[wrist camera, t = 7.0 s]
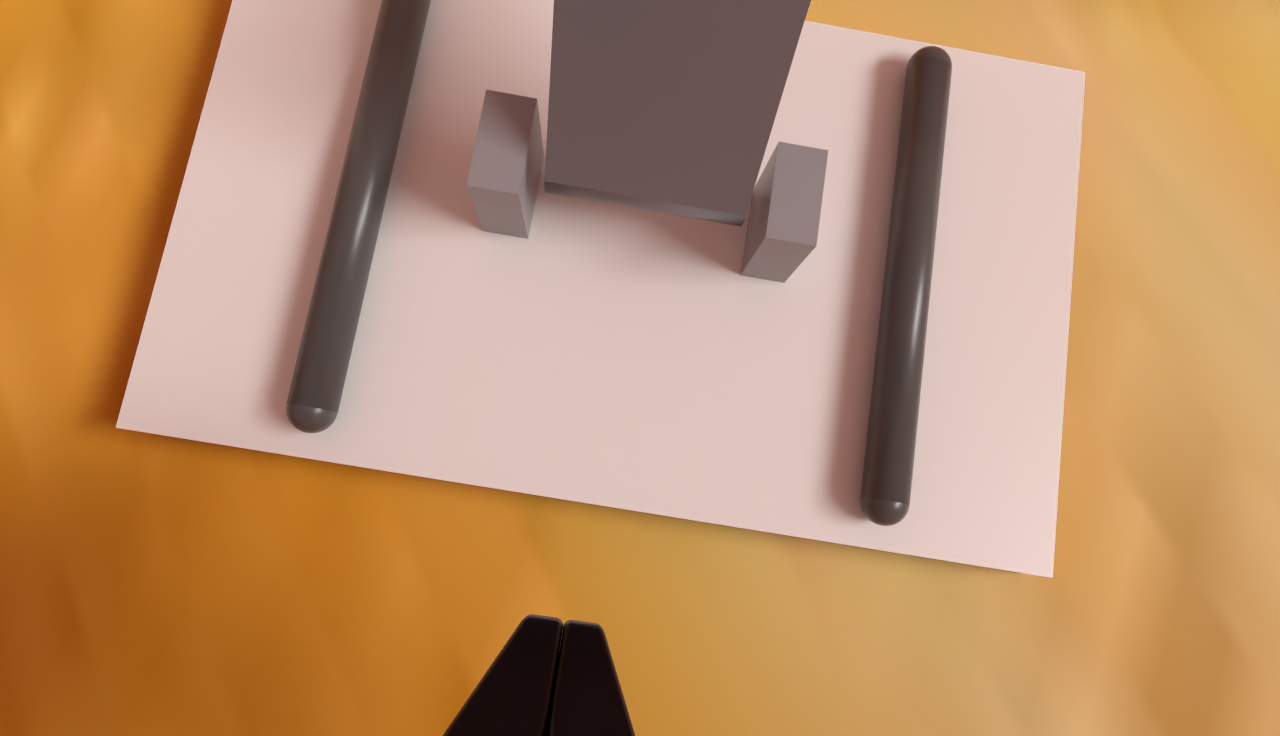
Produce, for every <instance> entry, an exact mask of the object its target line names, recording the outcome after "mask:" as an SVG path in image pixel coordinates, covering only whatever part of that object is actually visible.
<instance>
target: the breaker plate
mask: <svg viewBox="0 0 1280 736" xmlns="http://www.w3.org/2000/svg"><path fill="white" fill-rule="evenodd" d="M553 9H554V0H232V4H231V7H230V11H229V15H228V18H227V22H226V26H225V29H224V33H223V37H222V40H221V44H220V48H219V51H218V55H217V59H216V62H215V66H214V70H213V73H212V77H211V81H210V84H209V88H208V92H207V95H206V99H205V103H204V106H203V110H202V113H201V117H200V121H199V124H198V128H197V132H196V135H195V139H194V143H193V146H192V150H191V154H190V157H189V161H188V165H187V168H186V172H185V176H184V179H183V183H182V187H181V190H180V194H179V198H178V201H177V205H176V209H175V212H174V216H173V219H172V223H171V227H170V230H169V234H168V238H167V241H166V245H165V249H164V252H163V256H162V260H161V263H160V267H159V271H158V274H157V278H156V282H155V285H154V289H153V293H152V296H151V300H150V304H149V307H148V311H147V315H146V318H145V322H144V325H143V329H142V333H141V336H140V340H139V344H138V347H137V351H136V355H135V358H134V362H133V366H132V369H131V373H130V377H129V380H128V384H127V388H126V391H125V395H124V399H123V402H122V406H121V410H120V413H119V417H118V421H117V424H116V428H121V429H126V430H132V431H138V432H144V433H150V434H157V435H163V436H169V437H175V438H182V439H188V440H194V441H200V442H206V443H213V444H219V445H225V446H231V447H238V448H244V449H250V450H256V451H263V452H269V453H275V454H281V455H288V456H294V457H300V458H306V459H313V460H319V461H325V462H331V463H338V464H344V465H350V466H356V467H363V468H369V469H375V470H381V471H388V472H394V473H400V474H406V475H412V476H419V477H425V478H431V479H437V480H444V481H450V482H456V483H462V484H469V485H475V486H481V487H487V488H494V489H500V490H506V491H512V492H519V493H525V494H531V495H537V496H544V497H550V498H556V499H562V500H569V501H575V502H581V503H587V504H594V505H600V506H606V507H612V508H618V509H625V510H631V511H637V512H643V513H650V514H656V515H662V516H668V517H675V518H681V519H687V520H693V521H700V522H706V523H712V524H718V525H725V526H731V527H737V528H743V529H750V530H756V531H762V532H768V533H775V534H781V535H787V536H793V537H800V538H806V539H812V540H818V541H824V542H831V543H837V544H843V545H849V546H856V547H862V548H868V549H874V550H881V551H887V552H893V553H899V554H906V555H912V556H918V557H924V558H931V559H937V560H943V561H949V562H956V563H962V564H968V565H974V566H981V567H987V568H993V569H999V570H1006V571H1012V572H1018V573H1024V574H1031V575H1038V576H1044V577H1051V578H1053V565H1054V550H1055V535H1056V519H1057V504H1058V488H1059V473H1060V457H1061V442H1062V426H1063V411H1064V396H1065V380H1066V365H1067V349H1068V334H1069V318H1070V303H1071V287H1072V272H1073V257H1074V241H1075V226H1076V210H1077V195H1078V179H1079V164H1080V149H1081V133H1082V118H1083V102H1084V87H1085V72H1083V71H1077V70H1072V69H1066V68H1061V67H1055V66H1050V65H1044V64H1039V63H1034V62H1028V61H1023V60H1017V59H1012V58H1006V57H1001V56H995V55H990V54H985V53H979V52H974V51H968V50H963V49H957V48H952V47H946V46H941V45H936V44H930V43H925V42H919V41H914V40H908V39H903V38H897V37H892V36H887V35H881V34H876V33H870V32H865V31H859V30H854V29H849V28H843V27H838V26H832V25H827V24H821V23H816V22H810V21H804V24H803V28H802V31H801V34H800V38H799V41H798V44H797V48H796V51H795V54H794V57H793V61H792V64H791V67H790V71H789V74H788V77H787V81H786V84H785V87H784V90H783V94H782V97H781V100H780V104H779V107H778V110H777V114H776V117H775V120H774V124H773V127H772V130H771V133H770V137H769V140H768V143H767V147H766V150H765V153H764V157H763V160H762V163H761V167H760V170H759V173H758V176H757V180H756V183H755V186H754V190H753V193H752V196H751V200H750V203H749V206H748V209H747V213H746V216H745V219H744V222H743V224H742V226H741V227H740V226H734V225H728V224H722V223H717V222H711V221H705V220H699V219H694V218H688V217H682V216H676V215H671V214H665V213H659V212H653V211H647V210H642V209H636V208H630V207H624V206H619V205H613V204H607V203H601V202H596V201H590V200H584V199H578V198H573V197H567V196H561V195H555V194H550V193H545V190H544V181H545V162H546V143H547V124H548V105H549V85H550V66H551V47H552V28H553Z"/></svg>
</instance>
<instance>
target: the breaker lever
mask: <svg viewBox="0 0 1280 736" xmlns="http://www.w3.org/2000/svg"><path fill="white" fill-rule="evenodd" d="M810 1H811V0H554V9H553V28H552V47H551V66H550V85H549V105H548V124H547V143H546V162H545V181H544V190H545V193H550V194H555V195H561V196H567V197H573V198H578V199H584V200H590V201H596V202H601V203H607V204H613V205H619V206H624V207H630V208H636V209H642V210H647V211H653V212H659V213H665V214H671V215H676V216H682V217H688V218H694V219H699V220H705V221H711V222H717V223H722V224H728V225H734V226H740V227H741V226H742V224H743V222H744V219H745V216H746V213H747V209H748V206H749V203H750V200H751V196H752V193H753V190H754V186H755V183H756V180H757V176H758V173H759V170H760V167H761V163H762V160H763V157H764V153H765V150H766V147H767V143H768V140H769V137H770V133H771V130H772V127H773V124H774V120H775V117H776V114H777V110H778V107H779V104H780V100H781V97H782V94H783V90H784V87H785V84H786V81H787V77H788V74H789V71H790V67H791V64H792V61H793V57H794V54H795V51H796V48H797V44H798V41H799V38H800V34H801V31H802V28H803V24H804V21H805V18H806V14H807V11H808V8H809V5H810Z"/></svg>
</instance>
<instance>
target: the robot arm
mask: <svg viewBox="0 0 1280 736" xmlns="http://www.w3.org/2000/svg"><path fill="white" fill-rule="evenodd" d="M562 630H563V632H562ZM561 637H562V639H561ZM560 643H561V645H560ZM559 650H560V651H559ZM557 663H558V664H557ZM443 736H635V733H634V730H633V727H632V723H631V720H630V716H629V713H628V710H627V706H626V703H625V700H624V696H623V693H622V690H621V686H620V683H619V680H618V676H617V673H616V670H615V666H614V663H613V660H612V656H611V653H610V649H609V646H608V643H607V639H606V636H605V633H604V630H603V629H602V627H601V626H600V625H599V624H596V623H590V622H583V621H576V620H569V621H566V623H565V624H564V626H563V623H562V621H561V620H560V619H558V618H555V617H548V616H540V615H533V614H530V615H528V616H526V617H525V618H524V619H523V620H522V621H521V623H520V624H519V625H518V627H517V628H516V630H515V631H514V633H513V634H512V636H511V637H510V639H509V640H508V641H507V643H506V644H505V646H504V647H503V649H502V650H501V652H500V653H499V655H498V656H497V657H496V659H495V660H494V662H493V663H492V665H491V666H490V668H489V669H488V670H487V672H486V673H485V675H484V676H483V678H482V679H481V681H480V682H479V684H478V685H477V686H476V688H475V689H474V691H473V692H472V694H471V695H470V697H469V698H468V700H467V701H466V702H465V704H464V705H463V707H462V708H461V710H460V711H459V713H458V714H457V716H456V717H455V718H454V720H453V721H452V723H451V724H450V726H449V727H448V729H447V730H446V731H445V733H444V734H443Z"/></svg>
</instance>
